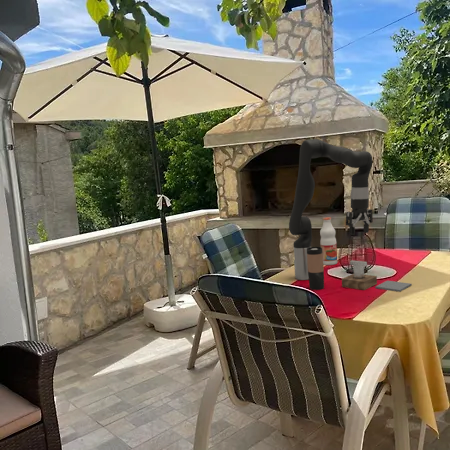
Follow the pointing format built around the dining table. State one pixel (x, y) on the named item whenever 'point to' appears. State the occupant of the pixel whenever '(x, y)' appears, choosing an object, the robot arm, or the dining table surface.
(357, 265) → the t key
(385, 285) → the grey mat
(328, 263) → the fruit juice
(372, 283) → the socket block
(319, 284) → the travel mug
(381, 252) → the dining table surface
